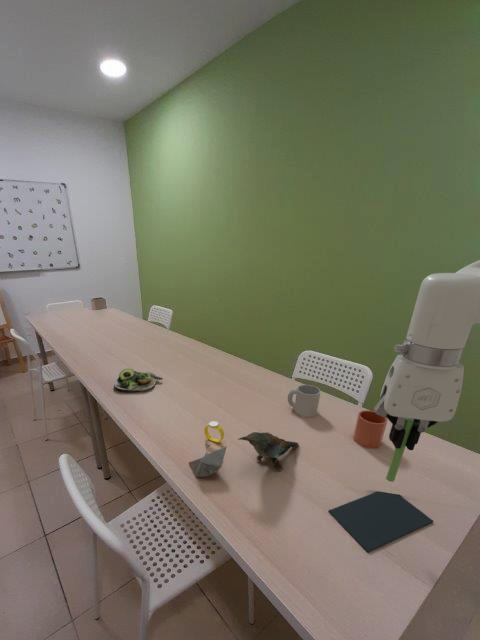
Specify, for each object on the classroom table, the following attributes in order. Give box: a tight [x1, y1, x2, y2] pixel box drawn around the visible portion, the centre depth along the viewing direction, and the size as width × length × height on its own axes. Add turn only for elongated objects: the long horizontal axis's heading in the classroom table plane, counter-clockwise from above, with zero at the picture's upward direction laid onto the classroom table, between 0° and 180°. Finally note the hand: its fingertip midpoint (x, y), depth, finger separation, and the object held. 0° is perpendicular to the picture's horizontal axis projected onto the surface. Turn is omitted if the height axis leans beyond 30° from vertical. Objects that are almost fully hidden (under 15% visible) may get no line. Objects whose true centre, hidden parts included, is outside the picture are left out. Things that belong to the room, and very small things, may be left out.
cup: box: [287, 384, 321, 418], centre depth 100 cm, size 7×10×9 cm
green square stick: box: [385, 418, 414, 483], centre depth 57 cm, size 1×1×14 cm
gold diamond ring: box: [203, 420, 225, 444], centre depth 88 cm, size 6×3×6 cm, turn 57°
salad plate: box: [113, 368, 164, 393], centre depth 125 cm, size 19×18×5 cm
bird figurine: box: [237, 431, 300, 472], centre depth 78 cm, size 13×10×20 cm
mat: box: [328, 490, 434, 554], centre depth 63 cm, size 18×10×1 cm, turn 110°
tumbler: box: [352, 409, 388, 449], centre depth 85 cm, size 7×7×8 cm
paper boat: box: [188, 444, 228, 478], centre depth 77 cm, size 12×6×9 cm
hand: (401, 444), depth 56 cm, fingers closed on green square stick, 1 cm apart
